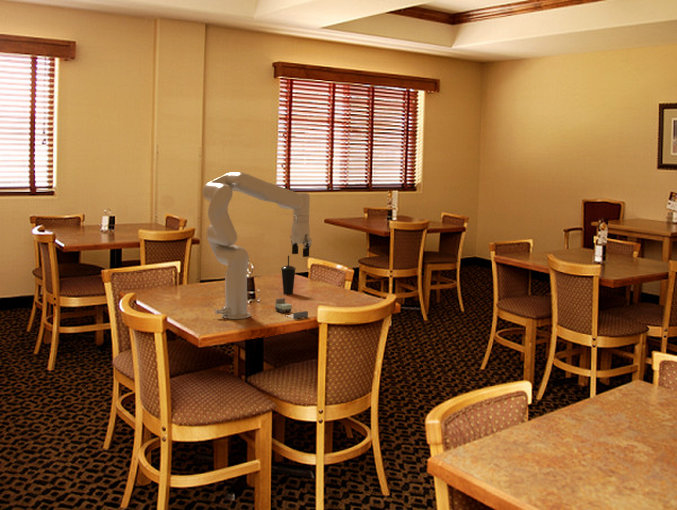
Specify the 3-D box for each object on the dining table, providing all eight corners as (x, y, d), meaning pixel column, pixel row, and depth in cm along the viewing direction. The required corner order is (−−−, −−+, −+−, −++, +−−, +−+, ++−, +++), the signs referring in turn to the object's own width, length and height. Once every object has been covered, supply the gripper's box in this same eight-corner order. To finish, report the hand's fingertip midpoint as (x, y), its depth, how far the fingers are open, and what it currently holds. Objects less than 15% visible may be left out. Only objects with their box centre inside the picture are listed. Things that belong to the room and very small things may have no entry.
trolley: (274, 310, 319) (274, 299, 319) (284, 309, 323) (285, 297, 322) (281, 313, 314) (281, 301, 313) (292, 312, 317) (292, 300, 316)
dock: (294, 319, 304) (294, 313, 303) (282, 315, 312) (282, 308, 311) (307, 317, 308) (307, 311, 307) (296, 313, 316) (296, 307, 315)
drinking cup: (293, 295, 353) (293, 257, 350) (279, 294, 355) (279, 256, 352) (297, 292, 361) (297, 255, 358) (283, 292, 362) (283, 254, 359)
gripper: (284, 217, 328) (284, 253, 331) (304, 221, 314) (303, 258, 317) (298, 217, 333) (297, 252, 335) (317, 220, 318) (317, 257, 321)
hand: (300, 255), depth 326 cm, fingers open, 9 cm apart
